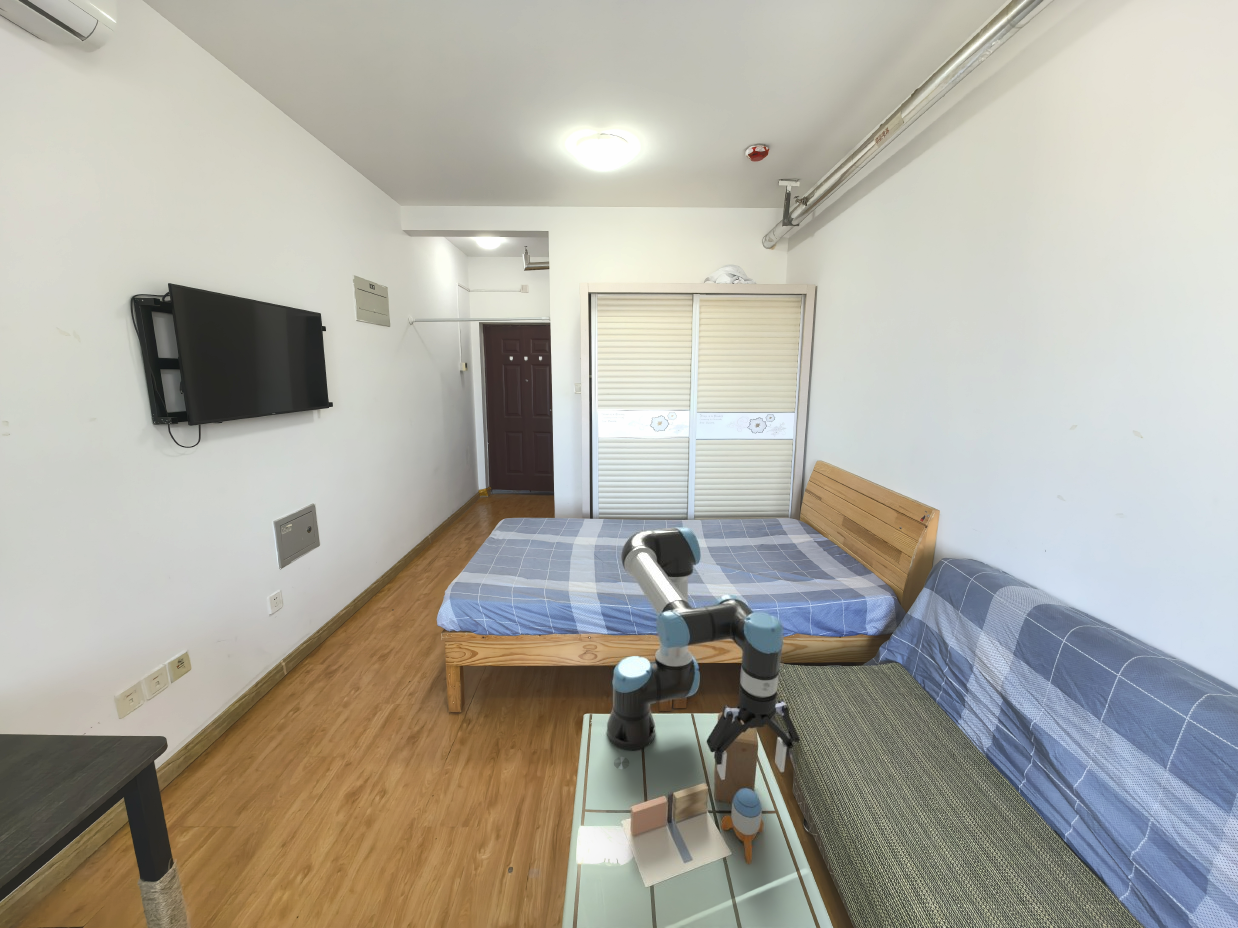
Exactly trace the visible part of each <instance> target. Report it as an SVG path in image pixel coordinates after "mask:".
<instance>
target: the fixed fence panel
mask: <svg viewBox="0 0 1238 928" xmlns="http://www.w3.org/2000/svg"><path fill="white" fill-rule="evenodd" d="M708 797H709V787H708V785H707V783H706V782H703V783H700V784H696V785H694V786H690V787H687V788H683V789H681V790H678V791H675V792H672V791H668V793H667V806H668V810H667V822H668V823H671V822H672V817H673V819H674V821H675V822H678V821H681V820H683V819H686V818H689V817H692V816H695V815H698V814H701V813H704V812H707V811H708ZM672 806H673V813H672Z"/></svg>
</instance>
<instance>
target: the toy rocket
mask: <svg viewBox="0 0 1238 928" xmlns="http://www.w3.org/2000/svg"><path fill="white" fill-rule="evenodd" d="M762 813H763V812H762V803H761V800H760V798H759V796H758V794H757V793H756V792H755V790H754V791H753V790H751V789H748V788H742V789H740V790H739V791H738V792H737V793H736V794H735V796H734V799H733V803H732V804H731V813H730V814H728V815H725V816H723V817H722V819H721V820H720V821H721V822H720V824H721V825H720V826H721V829H722V830H724V831H728V830H730V829H731V828H732V829H733V831H734V833H735V835H736V837H737V838H738V840H739V841H740V842H741V843H742V844H743V845H744V855H745V861H746V863H747V864H748V865H751V863H752V859H753V848H752V846H753V845H752V841H753V840H754V839H755V837H756V836H757V834H758V833H762V832H763V829H764V821H763V819H762V815H763V814H762Z"/></svg>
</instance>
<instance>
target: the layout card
mask: <svg viewBox="0 0 1238 928" xmlns="http://www.w3.org/2000/svg"><path fill="white" fill-rule="evenodd" d="M667 810H668V805H667ZM672 813H673V806H672ZM620 822H621V825H622V827H623V830H624V833H625V836H626V839H627V841H628V844H629V847H630V849H631V852H632V856H633V858H634V860H635V863H636V865H637V869H638V871H639V874H640V876H641V879H642V881H643V884H644V887H645V888H648V887H651V886H654V885H656V884H659V883H662V882H664V881H667V880H669V879H672V878H674V877H677V876H679V875H682V874H684V873H688V872H689V871H692V870H695V869H698V868H701V867H703V866H706V865H708V864H711V863H713V862H715V861H718V860H720V859H723V858H726V857H729V856H730V855H732V854H733V853H732V851H731V849H730V848H729V847H728V844H727V843H726V841H725V840H724V838H723V835H722V834H721V832H720V830H719V829H718V827H717V826H716V824H715V822H714V820H713V818H712V816H711V814H710V813H709V811H708V810H707V812H704V813H701V814H698V815H695V816H692V817H689V818H686V819H683V820H681V821H678V822H675V821H674V819H673V817H672V822H671V823H668V822H667V824H666V825H663V826H660V827H658V828H655V829H652V830H649V831H646V832H643V833H640V834H637V835H634V836H633V835H632V833H631V830H630V828H631V817H629V818H626V819H623V820H621V821H620Z"/></svg>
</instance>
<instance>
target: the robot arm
mask: <svg viewBox="0 0 1238 928" xmlns="http://www.w3.org/2000/svg"><path fill="white" fill-rule="evenodd" d="M620 557H621V560H620V561H621V564H622V567H623V568H624V570H625V572H626V573H627V575H628V576H630V577H631V578H633V579H634V580H635V581H636V583H637V584H638V586H639V588H640V589H641V591H642V593H643V594H644V595H645V598H646V599H647V600H648V602H649V603H650V606H651V607H652V609H653V610H654V611H655V613H656V615H657V617H656V623H655V625H656V632H657V636H658V638H659V639H658V640H659V648H658V650H656V652H655V653H654V654H655V655H654V657H655V659H654V660H653V661H650V660H648V658H646V657H643V656H641V657H640V656H639V655H632V656H627V657H625V658H622V659H621V660H620V661H619V662H617V664H616V666H615V667H614V669H613V677H612V709H611V712H610V715H609V717H608V719H607V723H606V733H607V737H608V739H609V741H610V742H611V743H612V744H613V745H614V746H616V747H618V748H620V749H622V750H624V751H625V750H626V751H638V750H643V749H644V748H646V747H648V746H649V745H651V743H652V742H653V740H654V739H655V736H656V723H655V720H654V717H653V714H652V711H651V704H656V703H661V702H666V701H671V700H676V699H685V698H687V697H691V696H693V695H695V694H696V693H697V691H698V689H699V687H700V677H701V675H700V671H699V668H700V667H699V664H698V661H697V660H696V658H695V656H693V653H692V652H691V651H690V650H689V649H688V647H689V646H695V645H696V646H697V645H701V644H705V643H712V642H720V641H726V640H732V641H733V642H734V643H735V644H736V645H737V646H738V647H739V648H740V649H741V652H742V654H741V666H740V667H741V668H740V678H739V682H740V683H739V688H738V689H739V690H738V705H737V706H736V707H734V708H731V707H730V706H729V705H728V704H726V705H724V706H723V708H722V715H721V717H720V719H719V721H718V720H717V723H716V724H715V726H714V727H713V729H712V731H711V732H710V733H709V736H708V737H707V739H706V745H707V746H708V750H709V751H710V752H711V753H714V755H713V756H714V757H713V759H714V762H715V761H716V763H717V770H718V773H719V775H720V777H721V780H724V779H725V770H726V758H727V753H726V751H725V750H726V749H727V748H728V747H729V746H730V745H731V744H732V742H733V741H734V740H735V739H736V738H737V737H738V736H739V735H740V734H741V733H742V732H746V730H747V729H748V728H755V727H756V728H764V727H765V726H766V725H767V726H768V727H769V729H770V730H772V731H773V733H775V734H776V735H777V739H776V748H775V754H774V755H775V757H774V763H775V765H776V766H777V769H778V770H779V772H780V773H784V772H785V765H786V757H788V756H789V754H790V750H791V749H793V748H794V743H799V741H800V736H799V734H798V733H797V730H796V728H795V727H794V724H793V722H792V720H791V717H790V708H789V707H788V705H787V704H786V702H785V701H784V699H781V698H780V699H779V700H778V702H777V696H778V692H777V691H778V685H779V675H780V674H779V673H780V667H781V658H782V649H783V646H784V638H783V637H784V635H783V634H784V627H783V624H782V622H781V620H780V619H779V618H777V617H776V616H774V615H771V614H769V613H766V612H761V611H759V612H757V611H756V612H754V611H753V610H752V609H751V608H750V607H749V606H748V604H746V602H744V601H742V600H741V599H740V598H738V597H737V596H736V595H733V594H723V595H722V596H720V597H718V598H717V599H715V601H714V603H713V604H712V605H704V606H699V607H698V606H697V607H693V606H691V604H690V603H689V599H688V598H689V593H688V591H689V589H688V588H689V584H688V583H689V580H688V579H689V578H690V577H691V576H692V575H693V573H694V566H696V565H699V563H700V562H701V546H700V543H699V541H698V538H697V536H696V534H695V533H694V532H693V530H691V529H690V528H689V527H685V526H684V527H676V526H675V527H668V528H658V529H643V530H641V531H638V532H636V533H634V534H633V535H631V536H630V537H629V538H628V539H627V540H626V541H625V543H624V545H623V547H622V551H621V556H620ZM776 713H778V714H779V715H780V716H781V718H782V721H783V723H784V725H785V728H786V730H787V731H788V732H786V731H784V730H783V728H782V727H781V726H780V725H779V724H778V723H777V722H776V721H775V720H774V719H773V717H774V716H775V715H776ZM741 720H742V721H743V723H744V724H743V725H742V723H741ZM732 721H733V722H732Z"/></svg>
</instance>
